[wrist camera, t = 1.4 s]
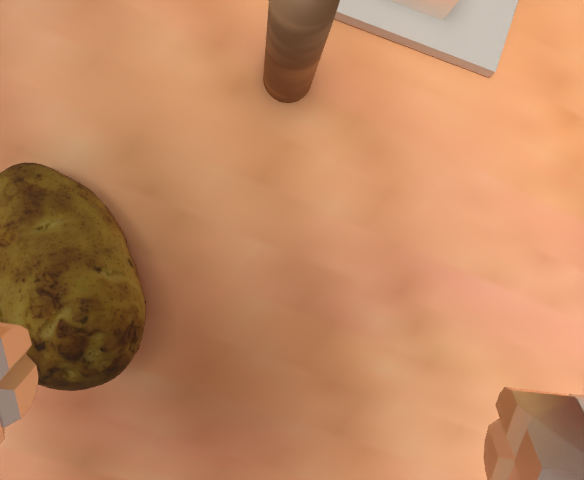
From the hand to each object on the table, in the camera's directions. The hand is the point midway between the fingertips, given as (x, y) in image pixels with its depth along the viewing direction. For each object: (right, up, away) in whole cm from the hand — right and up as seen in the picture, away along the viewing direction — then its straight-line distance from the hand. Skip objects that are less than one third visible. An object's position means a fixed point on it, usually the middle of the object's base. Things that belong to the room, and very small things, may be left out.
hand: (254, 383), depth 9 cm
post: (0, +13, +25) cm, 28 cm away
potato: (-12, +1, +23) cm, 26 cm away
